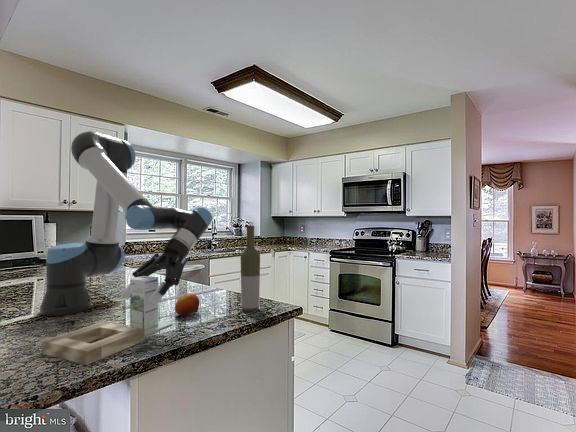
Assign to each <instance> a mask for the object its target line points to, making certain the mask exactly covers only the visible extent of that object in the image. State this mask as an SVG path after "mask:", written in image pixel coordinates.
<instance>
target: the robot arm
mask: <svg viewBox="0 0 576 432" xmlns="http://www.w3.org/2000/svg"><path fill="white" fill-rule="evenodd" d="M70 150H71V155H72V157H73V159H74V160H75V161H76V163H77V164H78V165H79V166H80V167H81V168H82V169H84V170H87V171H89V173H90V174H91V175H92V176H93V177H94V178H95V179H96V184H95V185H96V187H95V192H94V193H95V196H94V202H93V203H94V205H93V210H92V211H93V213H92V222H91V231H90V235H89V236H88V238H85V242H71V243H64V244H58V245H54V246H51V247H49V249H47V253H46V258H45V263H46V284H45V285H46V290H45V293H44V295H43V298H42V300H41V304H40V306H39V314H40V315H42V316H46V317H47V316H49V317H50V316H51V317H57V316H65V315H66V316H67V315H73V314H78V313H82V312H85V311H87V310H90V309H91V308H92V299H91V297H90V294H89V291H88V288H87V278H88V277H95V276H100V275H107V274H110V273H113V272H116V271H117V270H119V269H120V268H121V267H122V265H123V263H124V260H125V251H124V248H123V247H122V246H121V245H120V240H119V239H118V238H117V236H116V235H117V234H116V233H117V229H118V227H117V226H118V219H119V209H120V207H121V209H123V211H124V212H125V216H124V218H125V220H126V221H125V222H126V224H127V226H128V227H129V228H130V229H133V230H139V231H140V230H141V231H145V230H146V231H147V230H166V229H167V230H168V229H170V230H175V232H174V233H173V235H172V236H171V237H170V239H169V240H168V241H167V242H166V244H165V245H164V246H163V253H161V255H160V254H159V253H158V252H156V253H155V254H153V256H152V257H151V258H149V259H148V260H147V261H145V263H143V264H142V265H141V266H140V267H138V268H136V270H134V271H133V272H132V273H131V274H132V276H133V278H135V277H140V276H150V277H151V275H153V274H154V273H157V271H162V270H165V277H164V279H163V281H161V283H160V284H158V288H157V289H156V290H155V292H154V293H153V294H152V296H151V297H150V298H149V300H148V301H149V302H150V303H151V304H152V305H153V306H156V305H157V304H158V305H159V302H160V301H161V300H162V299H163V297H164V296H165V295H166V294H167V292H168V291H169V290H170V288H171V287H173V286H179V284H180V281H181V277H182V274H183V271H184V268H185V265H186V264H187V262H188V260H187V259H186V258H187V257H188V255H189V254H190V251H192V249H193V248H194V246H195V245H196V244H197V242H198V241H199V240H200V238H201V237H202V235H203V234H204V233H205V232H206V231H207V229H209V226H210V224H212V222H213V215H212V213H211V212H210V211H209V210H208V209H207V208H205V207H203V206H197V207H195V208H193V209H192V211H190V210H184V209H183V208H178V207H174V206H172V205H164V204H163V205H160V206H154V205H152V204H151V203H150V201H148V199H147V198H146V197H145V196H144V195H143V194H142V193H141V192H140V191H139V189H138V188H136V186H135V185H134V184H133V183H132V182H131V181H130V180H129V179H128V178H127V176H126V175H127V174H128V170H131V168H133V166H134V165H135V162H136V156H137V155H136V151H135V149H134V147H133V145H132V144H131V143H129V141H127V140H124V139H122V138H118V137H114V136H111V135H108V134H103V133H100V132H97V131H90V130H89V131H85V132H81V133H79V134H78V135H76V136H75V137H74V138H73V140H72V142H71V147H70ZM120 296H122V297H123V298H124V299H125V300H127V301H128V300H130V283H128V285H127V286H126V287H125V289H124V290H123V291H122V292H121V293H120Z"/></svg>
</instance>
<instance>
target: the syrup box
mask: <svg viewBox="0 0 576 432" xmlns="http://www.w3.org/2000/svg"><path fill="white" fill-rule="evenodd" d="M129 284H130V298H129V304H130V306H129V315H130V316H129V317H130V319H129V322H130V323H129V325H130V327H135V328H140V329H149V328H151V327H154V326H156V325H158V321H159V303H158V304H157V305H156V306H153V305H152V304H151V303H150V302H149V301H148V300H149V298H150V297H151V296H152V294H153V293H154V292H155V290H156V289H157V288H158V286H159V277H158V276H151V275H150V276H140V277H135V278H134V277H132V278H130V279H129Z"/></svg>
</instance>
